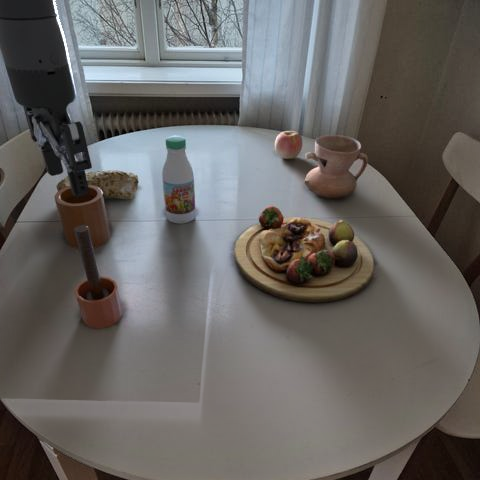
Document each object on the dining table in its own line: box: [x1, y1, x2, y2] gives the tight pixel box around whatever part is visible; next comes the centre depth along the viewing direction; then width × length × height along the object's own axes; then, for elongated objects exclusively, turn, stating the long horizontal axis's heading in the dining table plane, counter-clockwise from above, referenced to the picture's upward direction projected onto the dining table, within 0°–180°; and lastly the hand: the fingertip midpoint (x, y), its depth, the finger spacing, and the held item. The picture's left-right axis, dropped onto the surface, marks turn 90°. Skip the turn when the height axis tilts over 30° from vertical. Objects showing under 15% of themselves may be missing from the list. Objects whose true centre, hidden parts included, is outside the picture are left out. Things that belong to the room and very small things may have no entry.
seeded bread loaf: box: [55, 170, 140, 200], centre depth 116 cm, size 13×8×20 cm
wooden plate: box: [233, 205, 375, 303], centre depth 97 cm, size 32×32×8 cm
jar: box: [54, 185, 112, 249], centre depth 100 cm, size 10×10×11 cm
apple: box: [274, 130, 303, 160], centre depth 140 cm, size 9×9×8 cm
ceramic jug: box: [304, 134, 369, 199], centre depth 120 cm, size 18×14×14 cm
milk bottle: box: [161, 135, 196, 224], centre depth 105 cm, size 8×8×20 cm
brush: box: [74, 225, 109, 301], centre depth 76 cm, size 4×4×19 cm
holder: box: [74, 275, 123, 329], centre depth 81 cm, size 7×8×7 cm
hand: (68, 184), depth 64 cm, fingers open, 8 cm apart
